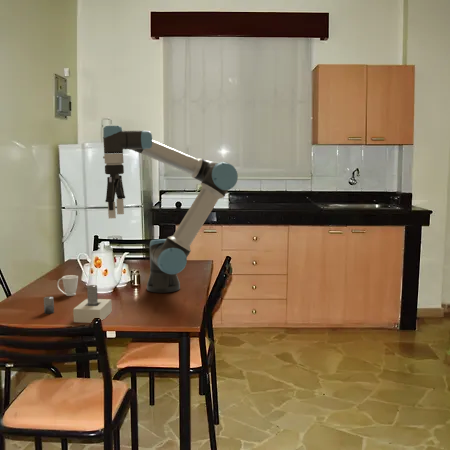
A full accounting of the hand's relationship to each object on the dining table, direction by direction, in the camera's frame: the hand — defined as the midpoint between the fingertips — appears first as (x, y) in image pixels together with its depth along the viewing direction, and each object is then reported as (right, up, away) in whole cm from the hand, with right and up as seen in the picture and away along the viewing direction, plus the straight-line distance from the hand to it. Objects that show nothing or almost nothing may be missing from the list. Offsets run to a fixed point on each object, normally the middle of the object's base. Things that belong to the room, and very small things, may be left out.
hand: (116, 216), depth 222 cm
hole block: (-5, -38, -17) cm, 43 cm away
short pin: (-24, -38, -12) cm, 46 cm away
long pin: (-5, -38, -17) cm, 43 cm away
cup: (-24, -34, +15) cm, 45 cm away
